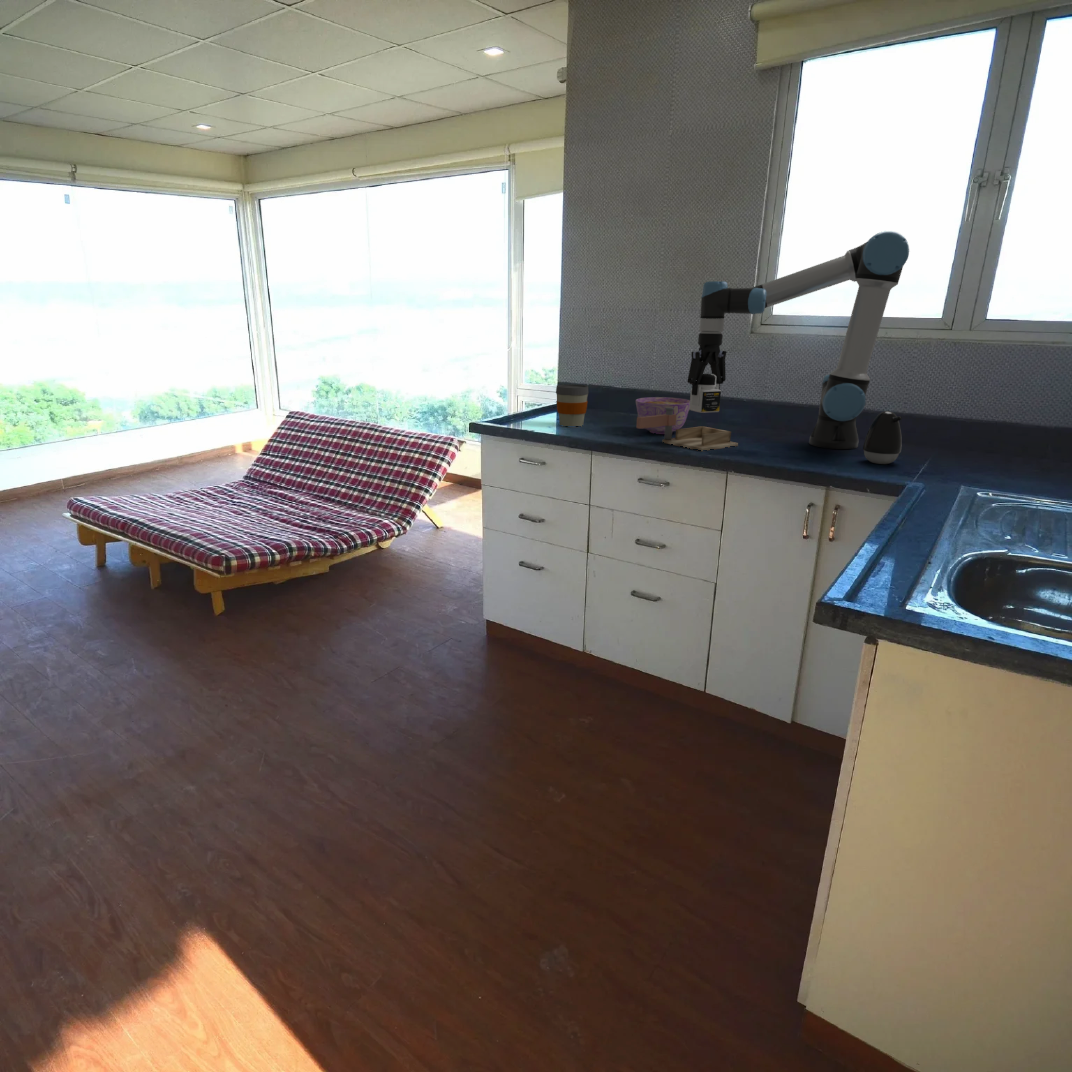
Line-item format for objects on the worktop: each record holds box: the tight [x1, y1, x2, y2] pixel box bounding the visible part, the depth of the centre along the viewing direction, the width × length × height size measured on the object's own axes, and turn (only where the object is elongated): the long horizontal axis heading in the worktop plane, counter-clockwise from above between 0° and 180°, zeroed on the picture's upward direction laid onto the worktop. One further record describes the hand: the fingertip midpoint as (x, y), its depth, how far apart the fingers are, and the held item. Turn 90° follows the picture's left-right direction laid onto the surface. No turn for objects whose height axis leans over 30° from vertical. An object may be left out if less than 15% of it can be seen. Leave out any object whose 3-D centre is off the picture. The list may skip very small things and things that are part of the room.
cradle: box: [662, 425, 739, 452], centre depth 231 cm, size 18×17×4 cm
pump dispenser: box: [862, 410, 903, 465], centre depth 204 cm, size 10×10×15 cm
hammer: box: [636, 408, 676, 440], centre depth 229 cm, size 15×3×10 cm, turn 123°
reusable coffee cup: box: [555, 383, 590, 427], centre depth 265 cm, size 13×13×15 cm
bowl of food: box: [635, 396, 690, 435], centre depth 252 cm, size 20×20×12 cm
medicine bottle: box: [689, 373, 722, 414], centre depth 227 cm, size 7×7×12 cm
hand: (704, 404), depth 228 cm, fingers closed on medicine bottle, 8 cm apart
